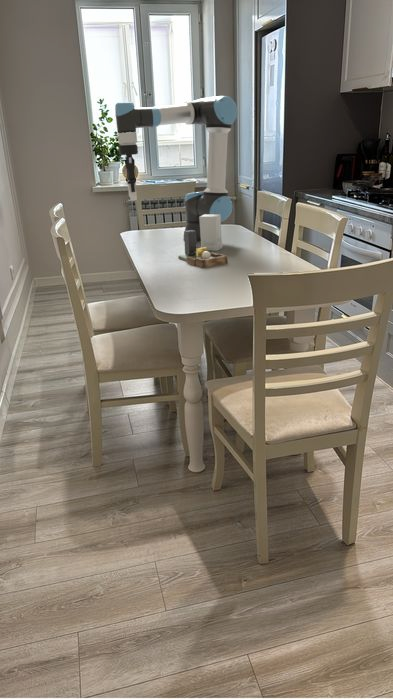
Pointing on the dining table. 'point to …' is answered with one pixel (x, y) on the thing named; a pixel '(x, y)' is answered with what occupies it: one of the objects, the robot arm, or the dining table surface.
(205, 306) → the dining table surface
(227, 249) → the dining table surface
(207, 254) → the ball
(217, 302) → the dining table surface
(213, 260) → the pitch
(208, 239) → the skincare box
